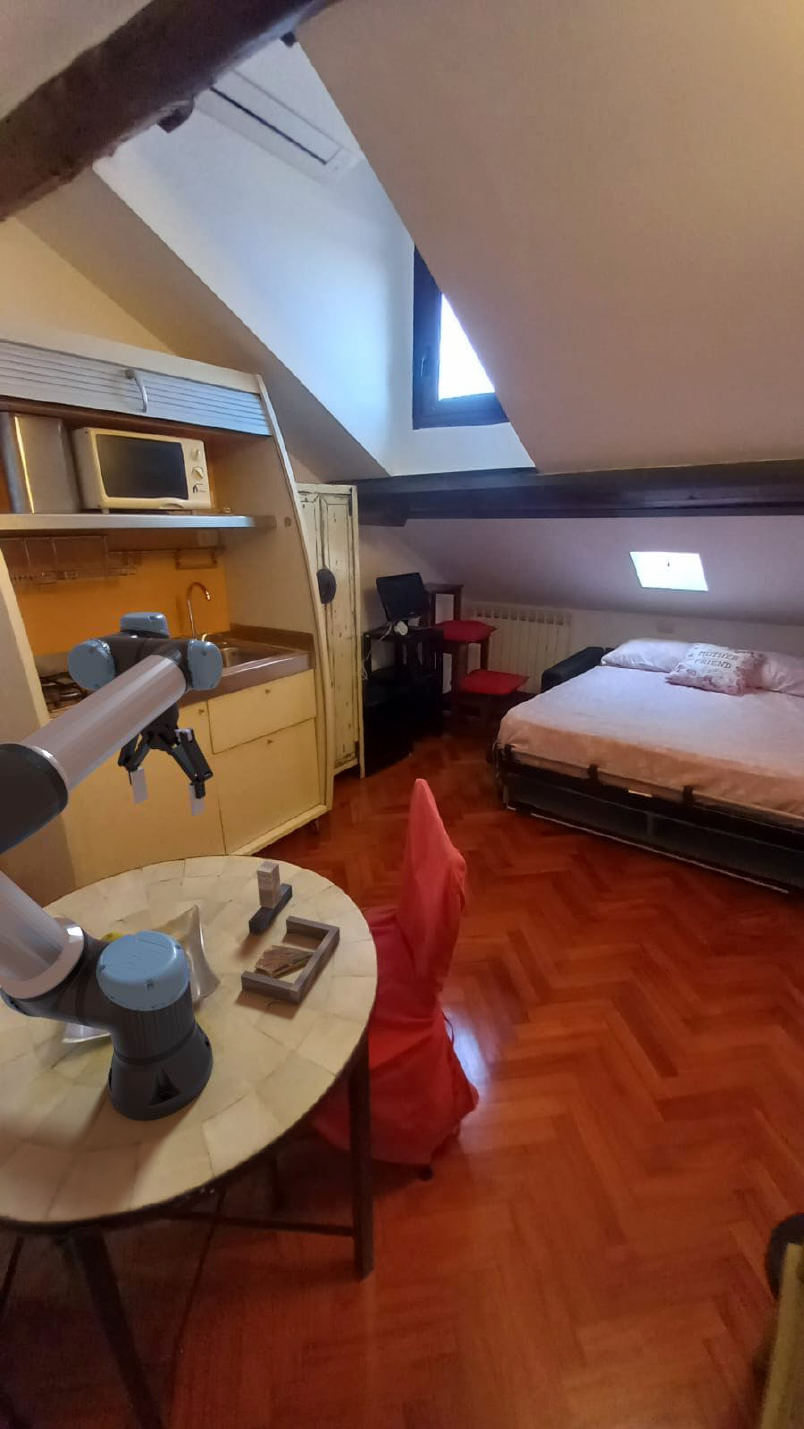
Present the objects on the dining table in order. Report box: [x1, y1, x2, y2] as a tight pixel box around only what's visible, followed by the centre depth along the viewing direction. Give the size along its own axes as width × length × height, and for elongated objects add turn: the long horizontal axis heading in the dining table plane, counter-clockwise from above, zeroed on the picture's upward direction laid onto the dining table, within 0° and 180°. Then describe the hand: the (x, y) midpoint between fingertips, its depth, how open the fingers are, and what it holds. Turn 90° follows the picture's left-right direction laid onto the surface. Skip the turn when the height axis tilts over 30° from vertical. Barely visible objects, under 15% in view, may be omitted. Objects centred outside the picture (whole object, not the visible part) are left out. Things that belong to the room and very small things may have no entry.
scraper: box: [248, 860, 293, 936], centre depth 128 cm, size 14×3×12 cm, turn 161°
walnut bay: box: [240, 915, 341, 1006], centre depth 115 cm, size 18×12×3 cm, turn 161°
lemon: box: [100, 931, 124, 942], centre depth 113 cm, size 6×6×8 cm
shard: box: [254, 944, 315, 978], centre depth 115 cm, size 11×8×2 cm
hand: (169, 806), depth 113 cm, fingers open, 13 cm apart
